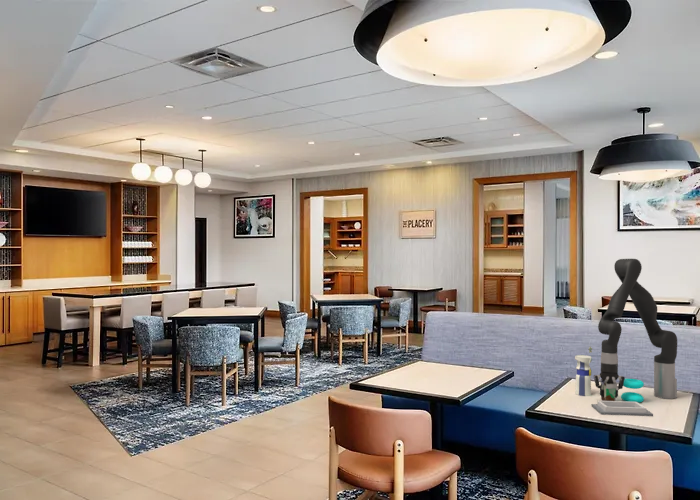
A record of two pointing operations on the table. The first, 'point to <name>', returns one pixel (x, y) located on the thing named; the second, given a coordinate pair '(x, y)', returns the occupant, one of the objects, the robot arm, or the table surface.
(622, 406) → the tray
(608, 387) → the food container
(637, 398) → the donuts
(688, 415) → the table surface
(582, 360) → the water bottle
